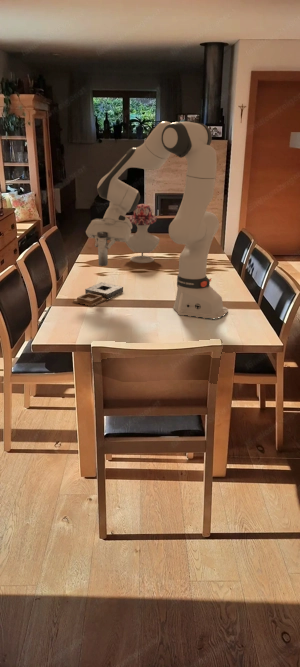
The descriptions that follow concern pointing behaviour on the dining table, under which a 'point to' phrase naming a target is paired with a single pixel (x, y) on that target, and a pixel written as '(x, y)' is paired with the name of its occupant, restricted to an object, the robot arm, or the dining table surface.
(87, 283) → the dining table surface
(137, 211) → the beige curvy piece
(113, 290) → the socket block
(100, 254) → the lidded glass canister
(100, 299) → the square wooden tray
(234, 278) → the dining table surface
